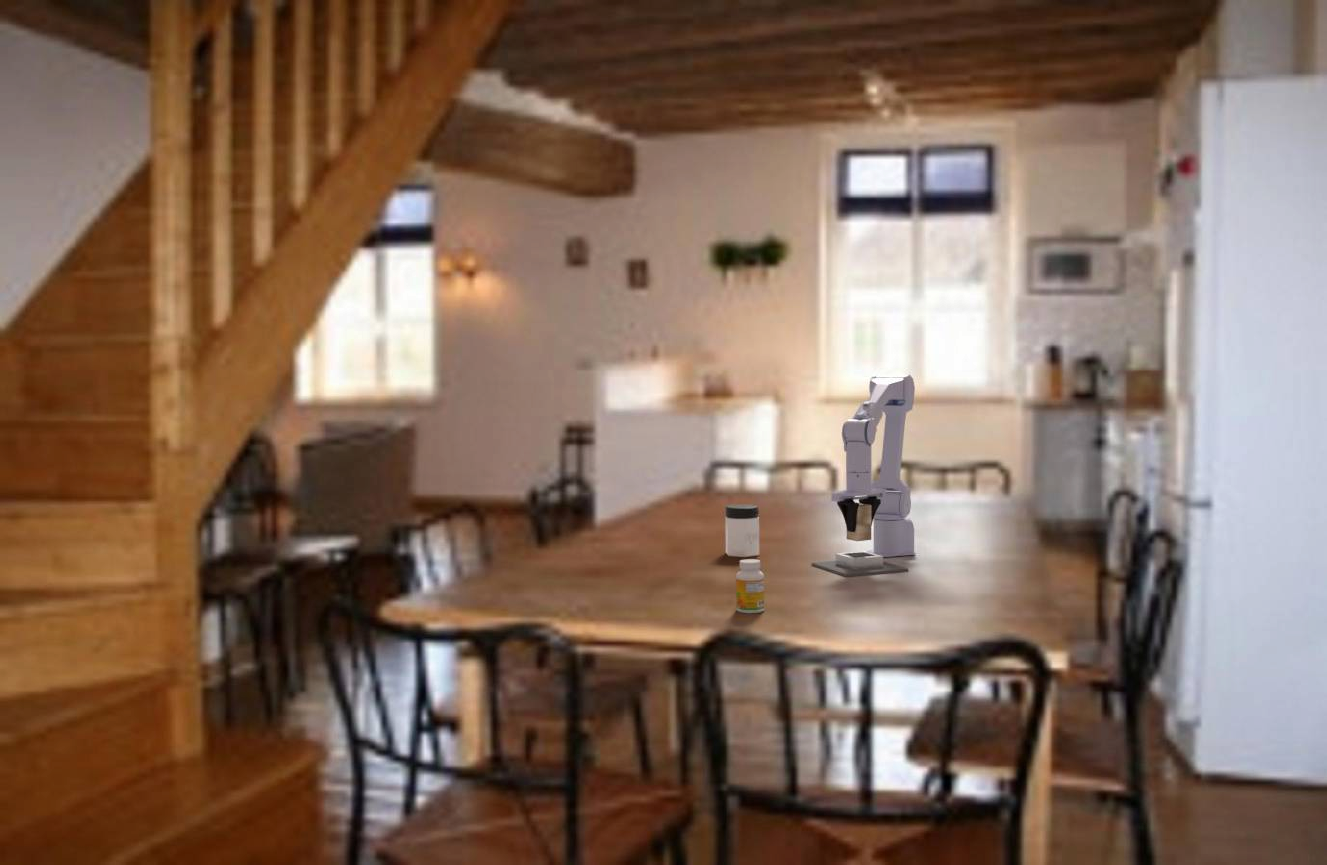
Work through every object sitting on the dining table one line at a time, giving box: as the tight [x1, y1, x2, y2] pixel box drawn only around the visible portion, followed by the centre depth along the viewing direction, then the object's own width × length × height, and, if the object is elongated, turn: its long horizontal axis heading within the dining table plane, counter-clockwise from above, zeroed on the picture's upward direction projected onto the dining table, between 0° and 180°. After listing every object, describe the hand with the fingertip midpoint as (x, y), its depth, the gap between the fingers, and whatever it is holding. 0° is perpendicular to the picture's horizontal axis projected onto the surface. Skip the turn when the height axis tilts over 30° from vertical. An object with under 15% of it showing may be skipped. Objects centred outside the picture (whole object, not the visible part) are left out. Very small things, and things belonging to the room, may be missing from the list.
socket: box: [835, 550, 884, 570], centre depth 268 cm, size 8×8×2 cm
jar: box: [724, 503, 760, 558], centre depth 289 cm, size 9×8×12 cm
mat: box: [811, 560, 909, 578], centre depth 268 cm, size 16×16×1 cm
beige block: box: [846, 502, 872, 542], centre depth 267 cm, size 4×4×8 cm
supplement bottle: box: [735, 558, 765, 614], centre depth 225 cm, size 5×5×10 cm
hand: (859, 530), depth 267 cm, fingers closed on beige block, 4 cm apart
